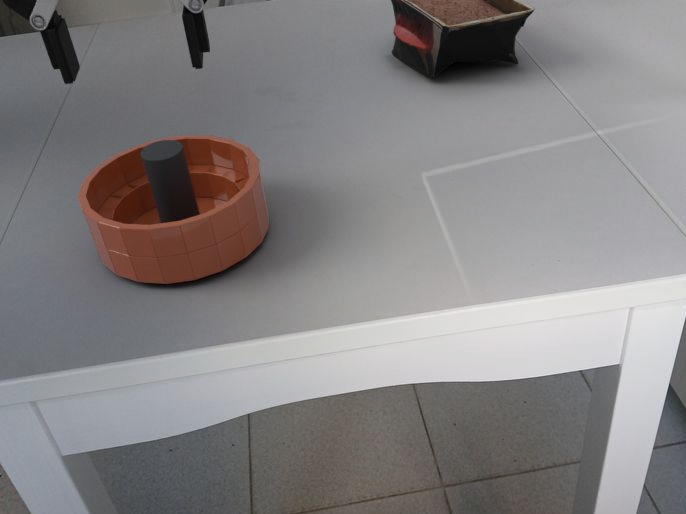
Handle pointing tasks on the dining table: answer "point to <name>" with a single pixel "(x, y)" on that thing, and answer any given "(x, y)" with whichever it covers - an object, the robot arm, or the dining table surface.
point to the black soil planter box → (456, 32)
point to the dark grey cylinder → (169, 180)
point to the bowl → (185, 235)
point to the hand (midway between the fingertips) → (136, 69)
